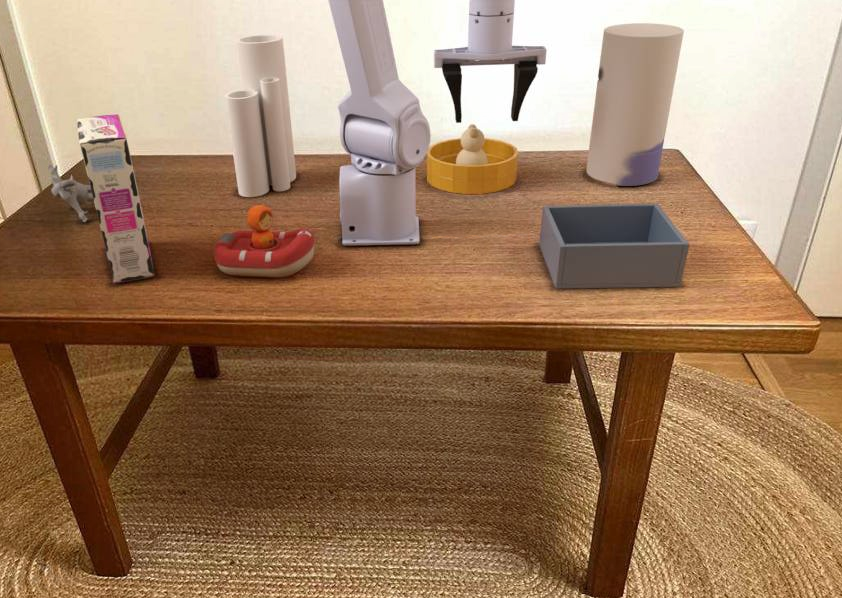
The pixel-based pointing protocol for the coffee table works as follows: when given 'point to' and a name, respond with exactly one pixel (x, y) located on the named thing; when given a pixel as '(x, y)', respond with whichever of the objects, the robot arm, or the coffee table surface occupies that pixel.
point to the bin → (612, 246)
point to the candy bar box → (115, 197)
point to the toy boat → (264, 248)
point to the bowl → (472, 168)
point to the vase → (261, 117)
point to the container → (633, 102)
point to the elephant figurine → (70, 191)
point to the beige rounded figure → (472, 148)
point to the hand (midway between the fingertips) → (486, 120)
